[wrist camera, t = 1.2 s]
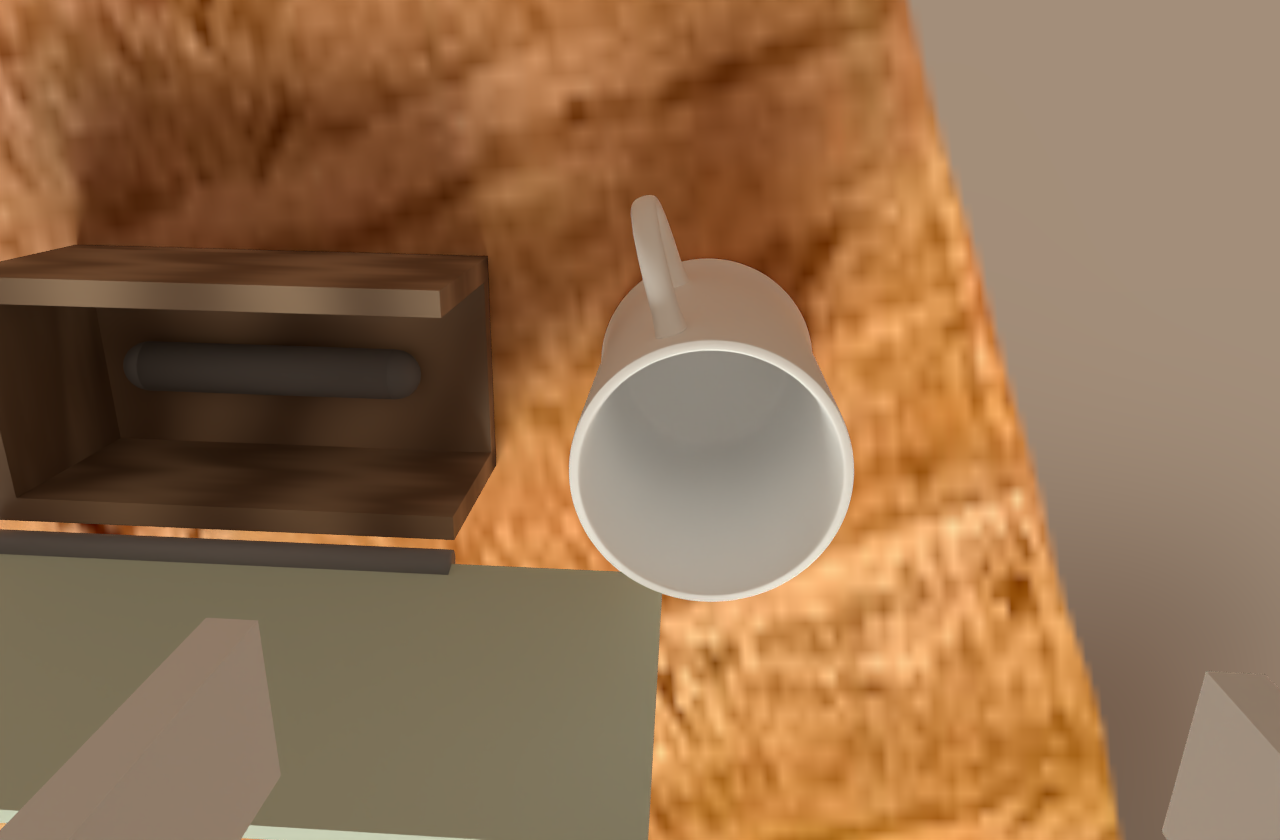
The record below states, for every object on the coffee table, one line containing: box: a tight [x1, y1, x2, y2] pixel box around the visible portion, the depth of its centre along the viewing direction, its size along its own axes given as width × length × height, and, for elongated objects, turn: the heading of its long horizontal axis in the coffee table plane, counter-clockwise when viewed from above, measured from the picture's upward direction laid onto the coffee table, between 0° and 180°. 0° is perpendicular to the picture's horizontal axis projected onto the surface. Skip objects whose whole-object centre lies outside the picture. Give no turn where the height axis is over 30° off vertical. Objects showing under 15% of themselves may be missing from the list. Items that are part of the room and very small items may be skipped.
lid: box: [0, 529, 662, 840], centre depth 29 cm, size 24×10×2 cm
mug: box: [569, 195, 854, 602], centre depth 30 cm, size 12×8×12 cm
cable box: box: [0, 245, 496, 540], centre depth 34 cm, size 17×9×7 cm, turn 89°
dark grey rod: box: [123, 341, 421, 400], centre depth 36 cm, size 12×2×2 cm, turn 89°
